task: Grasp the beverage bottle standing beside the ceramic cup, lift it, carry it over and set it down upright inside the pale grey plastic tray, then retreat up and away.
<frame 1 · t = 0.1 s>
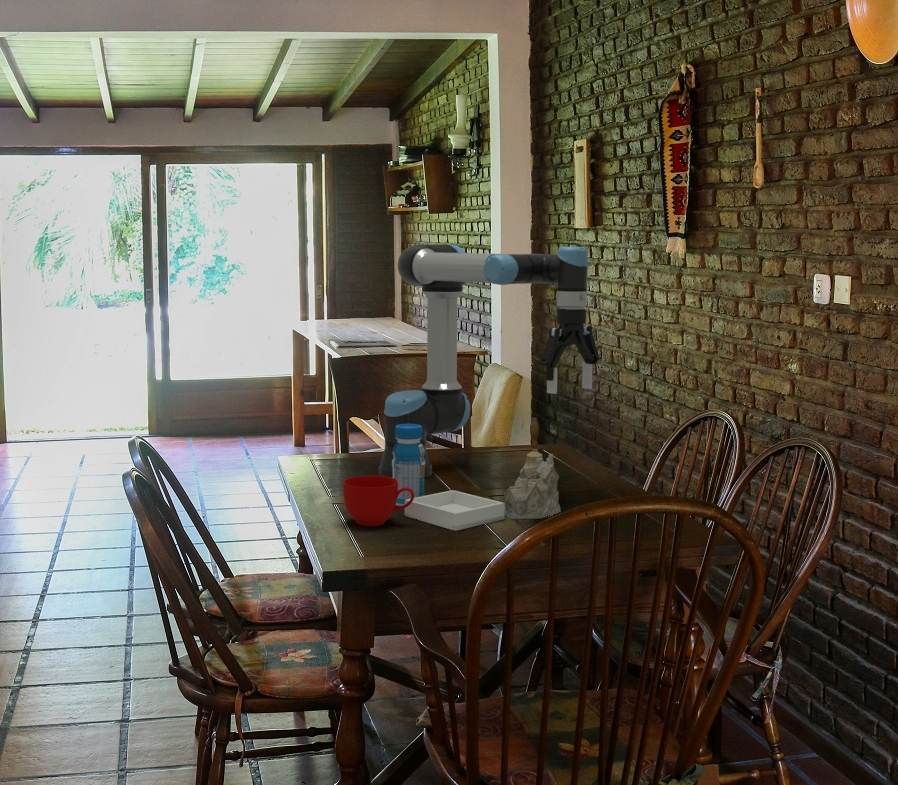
hand: (569, 391, 283), 28 cm above the table, fingers open, 13 cm apart
ceramic cottage: (528, 511, 273), on the table
tray: (454, 517, 265), on the table
beverage bottle: (408, 504, 279), on the table
hand bell: (534, 473, 318), on the table
ceramic cup: (378, 524, 260), on the table
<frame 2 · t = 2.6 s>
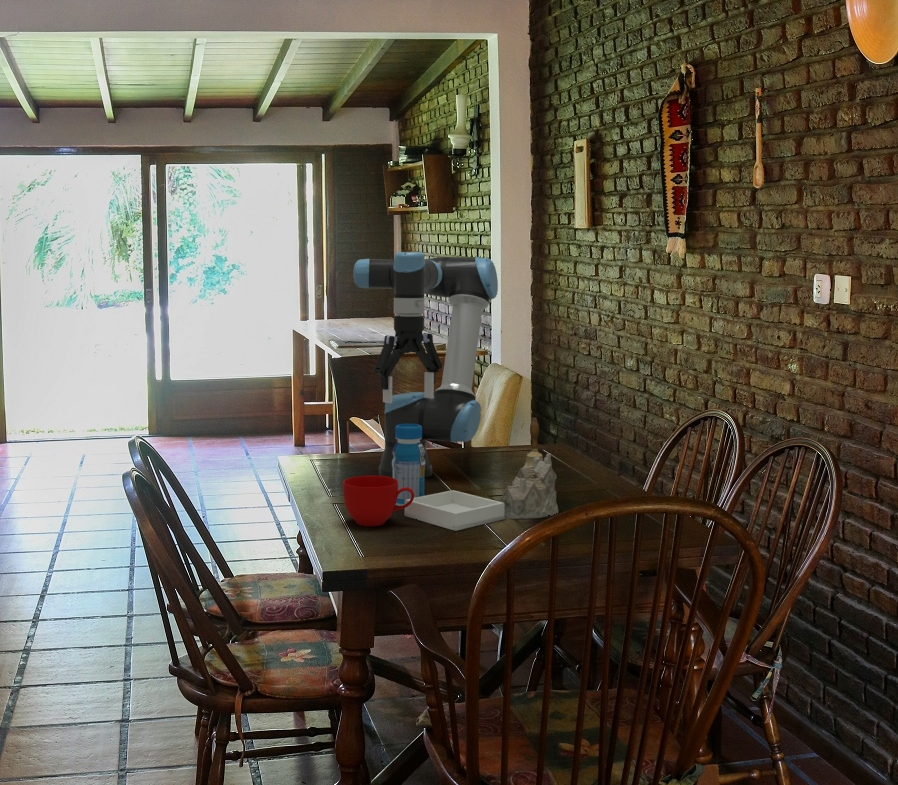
hand: (408, 400, 275), 26 cm above the table, fingers open, 13 cm apart
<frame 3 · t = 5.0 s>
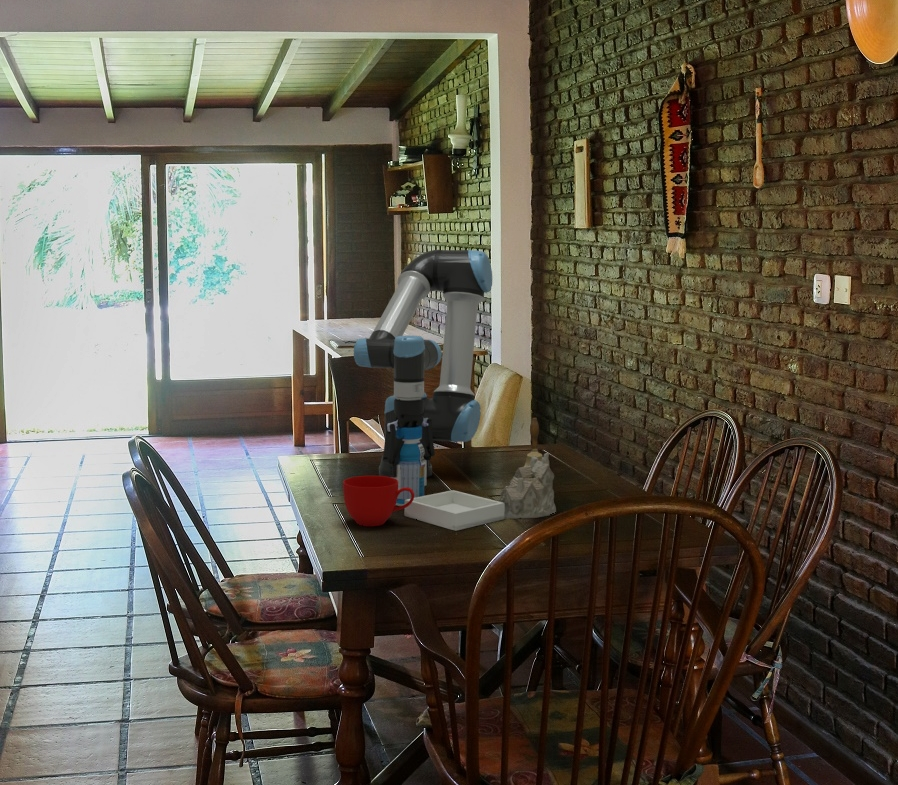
hand: (409, 487, 278), 4 cm above the table, fingers closed on beverage bottle, 8 cm apart
beverage bottle: (408, 504, 279), on the table, touching gripper
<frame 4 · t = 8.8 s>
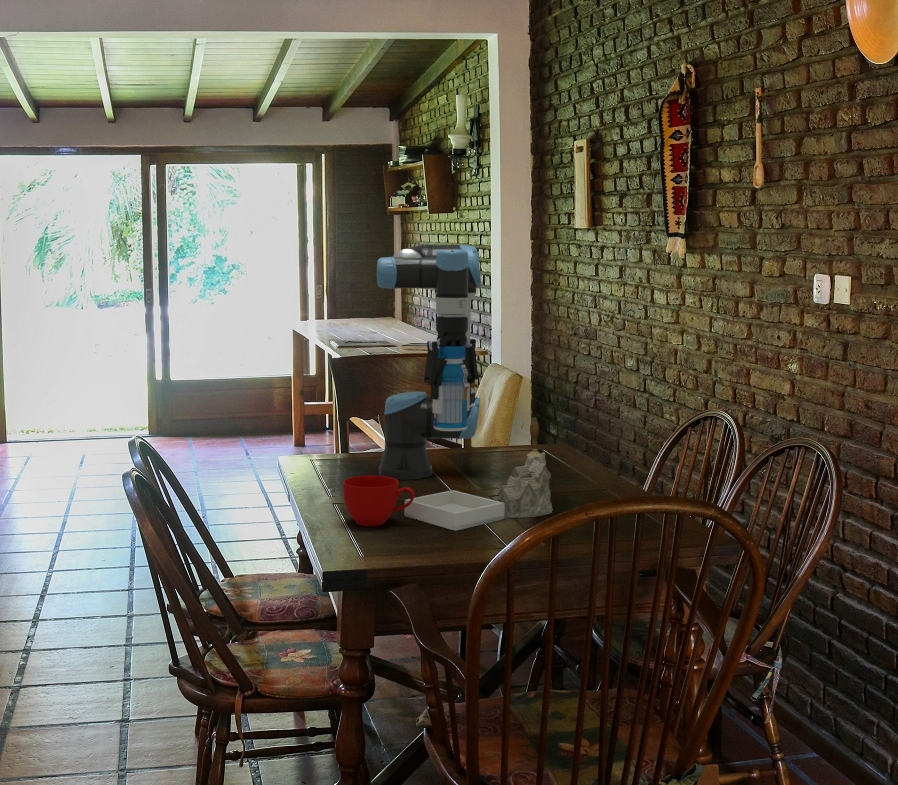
hand: (451, 411, 262), 26 cm above the table, fingers closed on beverage bottle, 8 cm apart
beverage bottle: (450, 429, 263), point 21 cm above the table, touching gripper
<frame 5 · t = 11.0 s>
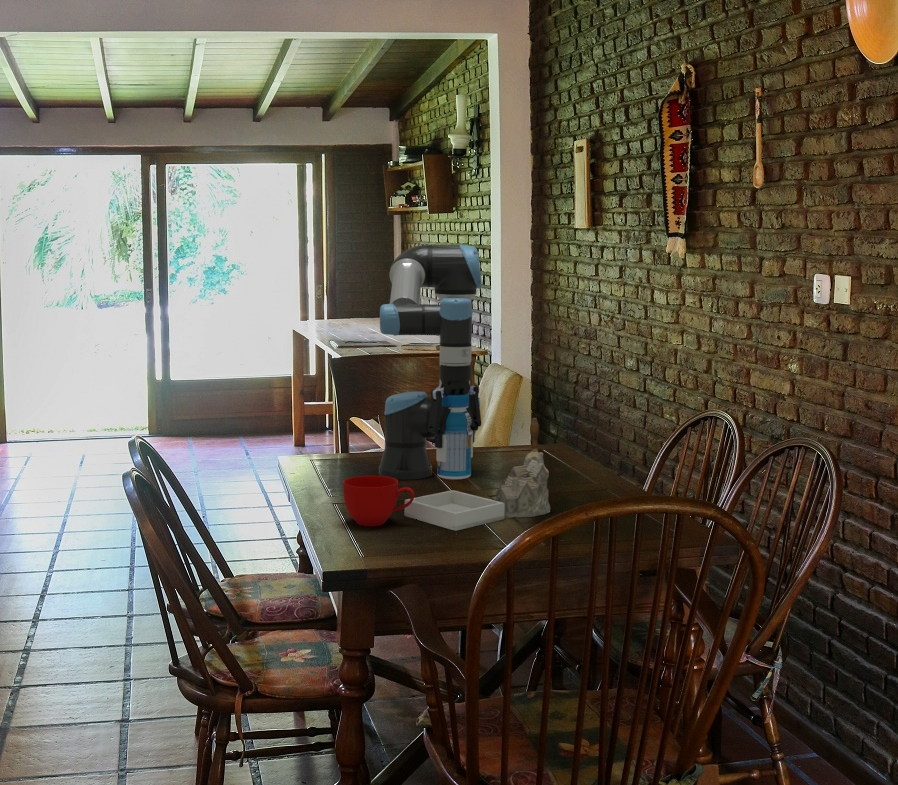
hand: (454, 458, 263), 14 cm above the table, fingers closed on beverage bottle, 8 cm apart
beverage bottle: (454, 477, 264), point 10 cm above the table, touching gripper
when the fingers open (7 cm above the table, at t = 12.8 s): beverage bottle drops 2 cm, resting on tray.
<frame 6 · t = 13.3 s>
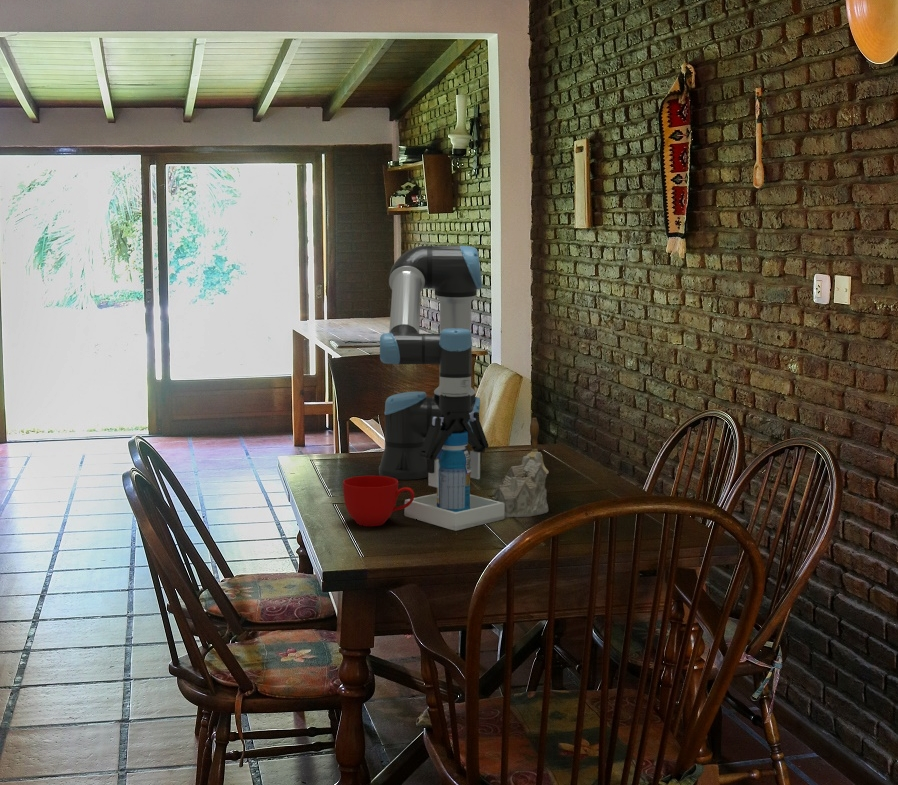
hand: (454, 482, 264), 9 cm above the table, fingers open, 13 cm apart
beverage bottle: (453, 514, 265), point 1 cm above the table, touching tray
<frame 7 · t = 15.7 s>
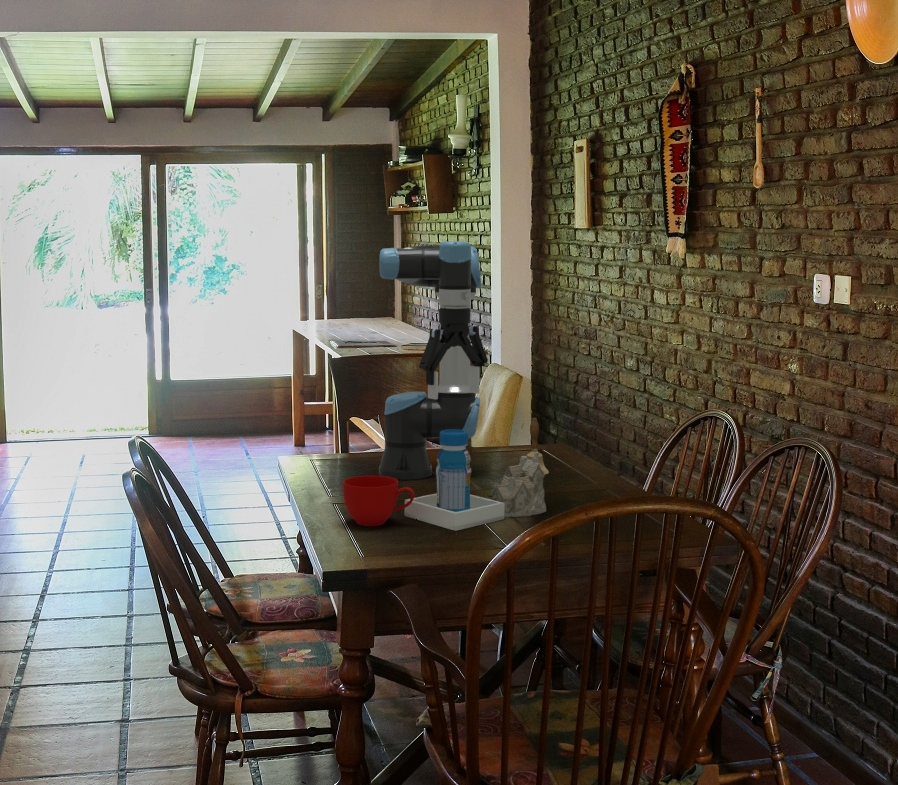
hand: (453, 395, 264), 29 cm above the table, fingers open, 13 cm apart
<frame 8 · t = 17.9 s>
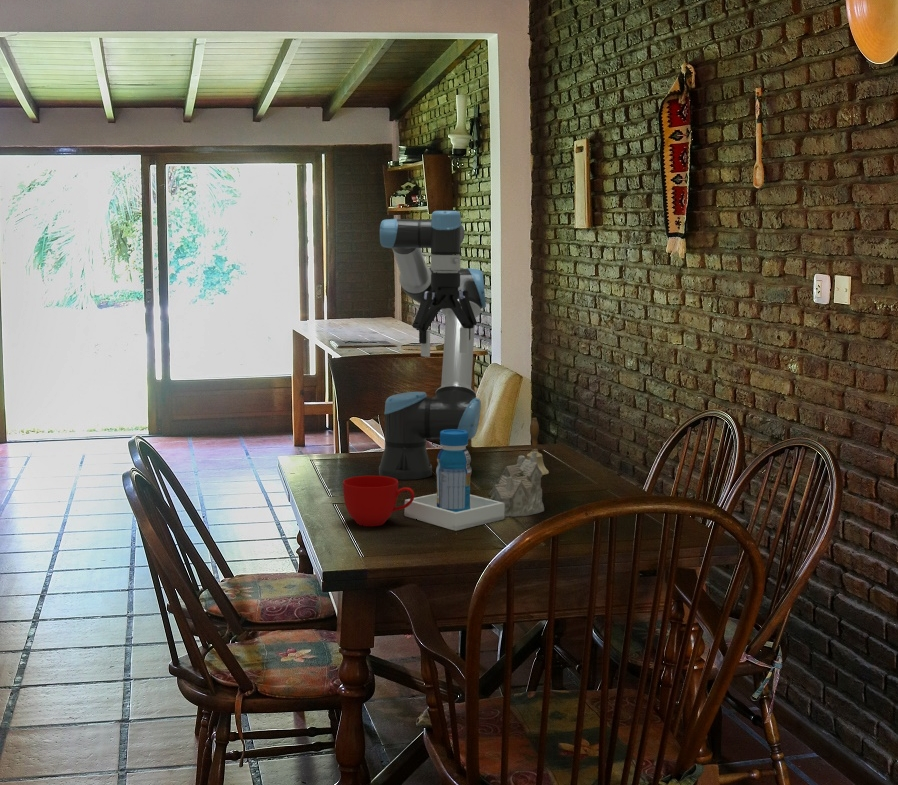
hand: (445, 354, 285), 37 cm above the table, fingers open, 13 cm apart
at the end: beverage bottle inside the target area on the tray (0.2 cm from its centre), point 0.8 cm above the tray's base; beverage bottle tilted 0°; the gripper is holding nothing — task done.
